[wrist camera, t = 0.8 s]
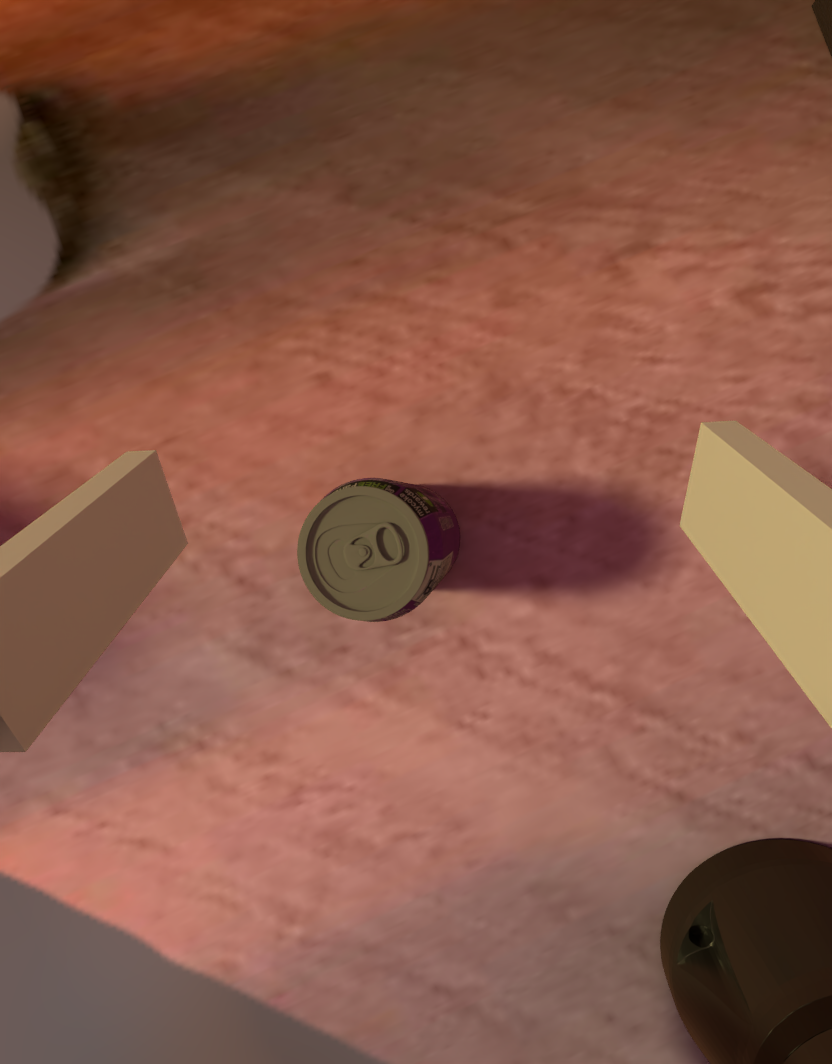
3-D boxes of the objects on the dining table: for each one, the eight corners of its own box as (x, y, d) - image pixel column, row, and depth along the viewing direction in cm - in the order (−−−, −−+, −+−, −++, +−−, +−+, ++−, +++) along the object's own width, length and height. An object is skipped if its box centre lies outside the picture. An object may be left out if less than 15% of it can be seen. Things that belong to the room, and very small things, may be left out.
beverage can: (440, 469, 35) (407, 452, 24) (475, 569, 35) (460, 603, 24) (343, 505, 37) (266, 506, 25) (378, 602, 37) (317, 650, 25)
